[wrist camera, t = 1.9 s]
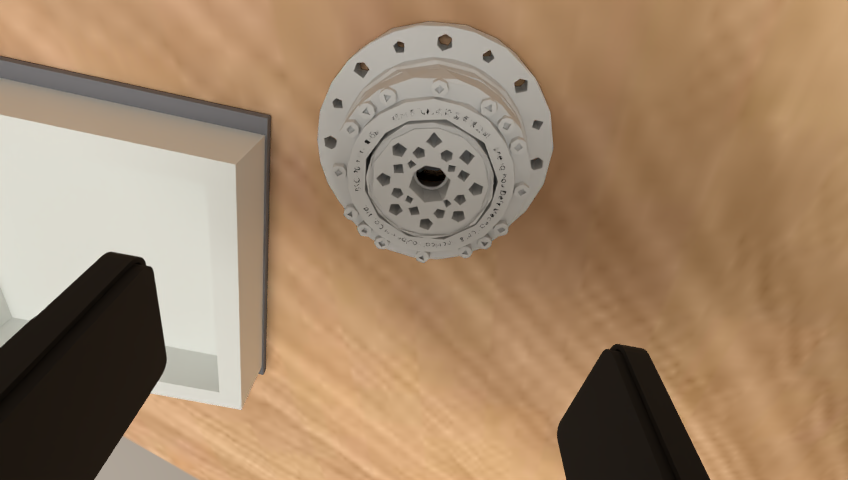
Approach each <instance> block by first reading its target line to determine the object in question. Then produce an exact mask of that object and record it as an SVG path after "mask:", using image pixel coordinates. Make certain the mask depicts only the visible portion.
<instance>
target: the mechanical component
mask: <svg viewBox="0 0 848 480" xmlns="http://www.w3.org/2000/svg"><path fill="white" fill-rule="evenodd" d="M444 34H447V35H448V36H450V37H451V38H452V42H451V43H450V44H449V45H448V46H447V45H443V44H440V42H439V37H440V36H442V35H444ZM398 41H400V42H402V43H404V48H403V47H398V44H397V42H398ZM489 50H491V56H483V54H484V53H486V52H487V51H489ZM361 62H364V63H365V64H366V66H367V67H368V68H369V71H367V70H361V67H360V64H359V63H361ZM519 79H524V80H525V82H524V83H523V84H522V85H521V86H514V83H515V82H516V81H518V80H519ZM341 100H342V101H341ZM534 120H537V121H534ZM330 136H332V137H334V138H335V139H334V138H332V137H330ZM317 141H318V148H319V155H320V162H321V165H322V168H323V171H324V174H325V176H326V179H327V182H328V184H329V186H330V188H331V189H332V191H333V192H334V194H335V196H336V197H337V199H338V201H339V202H340V203H341V204H342V205H343V207H344V209H345V210H344V216H345V217H346V218H347V219H349V220H352V221H353V222H354V223H355V224H356V225H357V226H358V227H357V230H358V232H359V234H360V235H361V236H368V237H370V238H371V239H373V240H374V241H375V242H374V244H375V245H376V247H377V248H378V249H385V248H386V249H388V250H391V251H394V252H397V253H401V254H404V255H407V256H410V257H415V258H416V260H417V261H420V262H422V263H425V262H426V261H427V260H428V259H443V258H450V257H457V256H461V257H463V258H468V257H470V256H471V254H472V251H475V250H478V249H480V248H481V249H487V248H489V247H490V246H491V244H492V241H493V240H494V239H495V238H497V237H498V236H502V235H506V234H507V233H508V227H509V226H510V225H511V224H512V223H513V222H514V221H515V220H516V219H517V218H519V217H520V216H521V215H522V214H523V213H524V212H525V211H526V210H527V208H528V207H529V205H530V204H531V202H532V201H533V199H534V198H535V196H536V195H537V193H538V192H539V190H540V189H541V187H542V186H543V184H544V181H545V177H546V173H547V170H548V166H549V162H550V159H551V155H552V151H553V137H552V125H551V113H550V110H549V108H548V105H547V103H546V100H545V98H544V95H543V93H542V90H541V88H540V85H539V83H538V82H537V80H536V79H535V77H534V76H533V75H532V73H531V72H530V71H529V70H528V68H527V67H526V66H525V65H524V63H523V62H522V61H521V59H520V58H519V57H518V56H517V54H516V53H514V52H513V51H512V50H511V49H509V48H508V47H507V46H506V45H504V44H503V43H502V42H501V41H499V40H498V39H497V38H495V37H492V36H490V35H488V34H486V33H483V32H481V31H479V30H477V29H474V28H472V27H470V26H468V25H461V24H451V23H441V22H431V21H428V22H423V23H418V24H412V25H407V26H402V27H397V28H392V29H390V30H389V31H387V32H386V33H384V34H382V35H381V36H379V37H378V38H376V39H375V40H373V41H372V42H370V43H368V44H367V45H365V46H364V47H362V48H361V49H359V50H358V51H357V52H356V53H355V54H354V55H353V56H352V57H351V58H350V59H349V60H348V62H347V63H346V64H345V66H344V67H343V68H342V69H341V71H340V72H339V73H338V75H337V76H336V77H335V79H334V80H333V81H332V83H331V85H330V88H329V90H328V93H327V95H326V98H325V100H324V102H323V105H322V107H321V110H320V117H319V127H318V138H317ZM399 143H400V144H399ZM535 158H537V159H536V160H535V161H534V160H533V159H535ZM424 169H427V170H435V171H438V170H440V169H441V170H442V171H443V172H444V173H445V175H446V178H445V180H442V181H436V182H430V181H424V180H420V179H418V178H417V177H416V171H418V172H419V173H420V172H421V171H423V170H424Z"/></svg>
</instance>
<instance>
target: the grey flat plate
mask: <svg viewBox="0 0 848 480" xmlns="http://www.w3.org/2000/svg"><path fill="white" fill-rule="evenodd" d="M0 78H3V79H8V80H13V81H17V82H22V83H26V84H31V85H36V86H40V87H45V88H49V89H54V90H59V91H63V92H68V93H72V94H77V95H82V96H86V97H91V98H95V99H100V100H105V101H109V102H114V103H119V104H123V105H128V106H132V107H137V108H142V109H146V110H151V111H155V112H160V113H165V114H169V115H174V116H178V117H183V118H188V119H192V120H197V121H201V122H206V123H211V124H215V125H220V126H225V127H229V128H234V129H238V130H243V131H248V132H252V133H257V134H261V135H265V169H264V243H263V316H262V367H261V369H260V371H259V373H258V374H262V375H263V374H264V372H265V370H266V320H267V271H268V222H269V173H270V124H271V116H270V115H266V114H261V113H257V112H252V111H248V110H243V109H239V108H234V107H229V106H225V105H220V104H216V103H211V102H207V101H202V100H198V99H193V98H189V97H184V96H179V95H175V94H170V93H166V92H161V91H157V90H152V89H148V88H143V87H138V86H134V85H129V84H125V83H120V82H116V81H111V80H107V79H102V78H97V77H93V76H88V75H84V74H79V73H75V72H70V71H66V70H61V69H57V68H52V67H47V66H43V65H38V64H34V63H29V62H25V61H20V60H16V59H11V58H6V57H2V56H0Z"/></svg>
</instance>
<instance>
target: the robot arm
mask: <svg viewBox="0 0 848 480" xmlns="http://www.w3.org/2000/svg"><path fill="white" fill-rule="evenodd" d="M166 363H167V355H166V348H165V342H164V335H163V329H162V322H161V316H160V309H159V303H158V296H157V290H156V283H155V277H154V271H153V268H152V267H150V266H146V262H145V260H144V259H143V258H142V257H138V256H133V255H127V254H122V253H116V252H107V253H105V254H104V255H102V256H101V257H100V258H99V259H98V260H97V261H96V262H95V263H94V264H93V265H91V266H90V267H89V268H88V269H87V270H86V271H85V272H84V273H83V274H82V275H81V276H79V277H78V278H77V279H76V280H75V281H74V282H73V283H72V284H71V285H70V286H69V287H67V288H66V289H65V290H64V291H63V292H62V293H61V294H60V295H59V296H58V297H57V298H56V299H54V300H53V301H52V302H51V303H50V304H49V305H48V306H47V307H46V308H45V309H44V310H42V311H41V312H40V313H39V314H38V315H37V316H35V317H34V318H33V319H31V320H30V321H29V322H28V323H27V324H25V325H24V326H23V327H22V328H21V329H20V330H19V331H18V332H17V333H16V334H15V335H13V336H12V337H11V338H10V339H9V340H8V341H7V342H6V343H5V344H4V345H3V346H1V347H0V480H94V479H95V477H96V476H97V474H98V473H99V471H100V470H101V468H102V466H103V465H104V464H105V462H106V461H107V459H108V457H109V456H110V454H111V453H112V451H113V449H114V448H115V446H116V445H117V444H118V442H119V441H120V439H121V438H122V436H123V434H124V433H125V431H126V430H127V428H128V427H129V425H130V424H131V422H132V421H133V419H134V418H135V416H136V415H137V413H138V411H139V410H140V408H141V407H142V405H143V404H144V402H145V401H146V399H147V398H148V396H149V395H150V393H151V391H152V390H153V388H154V387H155V385H156V384H157V382H158V381H159V379H160V378H161V376H162V374H163V372H164V370H165V367H166ZM557 438H558V444H559V448H560V453H561V457H562V462H563V466H564V471H565V475H566V480H710V478H709V476H708V474H707V472H706V470H705V468H704V466H703V464H702V462H701V460H700V458H699V456H698V454H697V452H696V450H695V448H694V446H693V443H692V441H691V439H690V437H689V435H688V433H687V431H686V429H685V427H684V425H683V423H682V421H681V419H680V417H679V415H678V413H677V411H676V409H675V407H674V405H673V403H672V401H671V399H670V396H669V394H668V392H667V390H666V388H665V386H664V384H663V382H662V380H661V378H660V376H659V374H658V372H657V370H656V368H655V366H654V364H653V362H652V360H651V358H650V356H649V354H648V353H647V351H646V350H644V349H642V348H637V347H631V346H626V345H620V344H615V345H613V346H612V347H611V349H610V350H609V349H606V350H604V351H603V352H602V354H601V355H600V357H599V359H598V360H597V362H596V364H595V365H594V367H593V369H592V370H591V372H590V374H589V375H588V377H587V378H586V380H585V382H584V383H583V385H582V387H581V388H580V390H579V392H578V393H577V395H576V397H575V398H574V400H573V402H572V403H571V405H570V406H569V408H568V410H567V411H566V413H565V415H564V416H563V418H562V420H561V421H560V423H559V426H558V431H557Z"/></svg>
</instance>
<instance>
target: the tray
mask: <svg viewBox="0 0 848 480" xmlns="http://www.w3.org/2000/svg"><path fill="white" fill-rule="evenodd" d="M264 169H265V135H261V134H257V133H252V132H248V131H243V130H238V129H234V128H229V127H225V126H220V125H215V124H211V123H206V122H201V121H197V120H192V119H188V118H183V117H178V116H174V115H169V114H165V113H160V112H155V111H151V110H146V109H142V108H137V107H132V106H128V105H123V104H119V103H114V102H109V101H105V100H100V99H95V98H91V97H86V96H82V95H77V94H72V93H68V92H63V91H59V90H54V89H49V88H45V87H40V86H36V85H31V84H26V83H22V82H17V81H13V80H8V79H3V78H0V347H1V346H3V345H4V344H5V343H6V342H7V341H8V340H9V339H10V338H11V337H12V336H13V335H15V334H16V333H17V332H18V331H19V330H20V329H21V328H22V327H23V326H24V325H25V324H27V323H28V322H29V321H30V320H31V319H33V318H34V317H35V316H37V315H38V314H39V313H40V312H41V311H42V310H44V309H45V308H46V307H47V306H48V305H49V304H50V303H51V302H52V301H53V300H54V299H56V298H57V297H58V296H59V295H60V294H61V293H62V292H63V291H64V290H65V289H66V288H67V287H69V286H70V285H71V284H72V283H73V282H74V281H75V280H76V279H77V278H78V277H79V276H81V275H82V274H83V273H84V272H85V271H86V270H87V269H88V268H89V267H90V266H91V265H93V264H94V263H95V262H96V261H97V260H98V259H99V258H100V257H101V256H102V255H104V254H105V253H107V252H116V253H122V254H127V255H133V256H138V257H142V258H143V259H144V260H145V262H146V266H150V267H152V268H153V271H154V277H155V283H156V290H157V296H158V303H159V309H160V316H161V322H162V329H163V335H164V342H165V348H166V355H167V363H166V367H165V370H164V372H163V374H162V376H161V378H160V379H159V381H158V382H157V384H156V385H155V387H154V388H153V390H152V391H151V393H152V394H157V395H163V396H168V397H174V398H179V399H185V400H190V401H196V402H201V403H207V404H212V405H218V406H223V407H229V408H234V409H240V410H242V408H243V406H244V403H245V401H246V399H247V397H248V395H249V393H250V391H251V388H252V386H253V384H254V382H255V380H256V378H257V375H258V373H259V371H260V369H261V367H262V316H263V243H264Z"/></svg>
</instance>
